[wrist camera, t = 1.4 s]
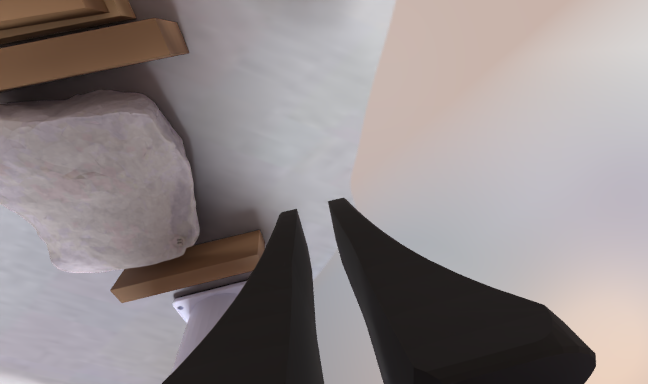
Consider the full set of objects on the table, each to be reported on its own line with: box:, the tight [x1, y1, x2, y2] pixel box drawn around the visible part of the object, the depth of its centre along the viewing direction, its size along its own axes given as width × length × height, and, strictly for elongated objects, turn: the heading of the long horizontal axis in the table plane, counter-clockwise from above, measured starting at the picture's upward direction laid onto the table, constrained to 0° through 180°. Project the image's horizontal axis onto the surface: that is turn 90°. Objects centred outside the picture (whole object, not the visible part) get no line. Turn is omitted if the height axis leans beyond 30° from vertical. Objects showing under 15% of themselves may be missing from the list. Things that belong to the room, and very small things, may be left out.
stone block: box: [0, 89, 200, 273], centre depth 17 cm, size 12×5×10 cm
